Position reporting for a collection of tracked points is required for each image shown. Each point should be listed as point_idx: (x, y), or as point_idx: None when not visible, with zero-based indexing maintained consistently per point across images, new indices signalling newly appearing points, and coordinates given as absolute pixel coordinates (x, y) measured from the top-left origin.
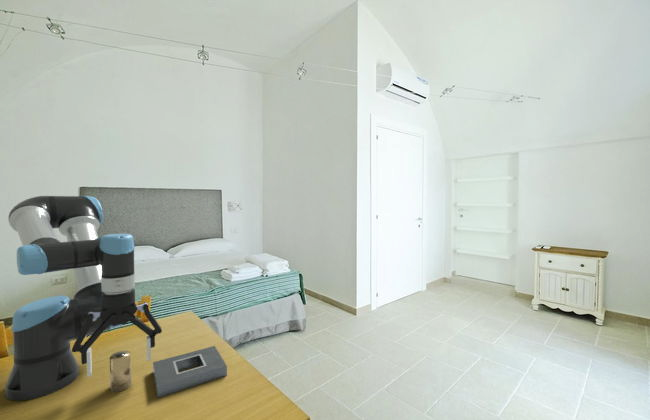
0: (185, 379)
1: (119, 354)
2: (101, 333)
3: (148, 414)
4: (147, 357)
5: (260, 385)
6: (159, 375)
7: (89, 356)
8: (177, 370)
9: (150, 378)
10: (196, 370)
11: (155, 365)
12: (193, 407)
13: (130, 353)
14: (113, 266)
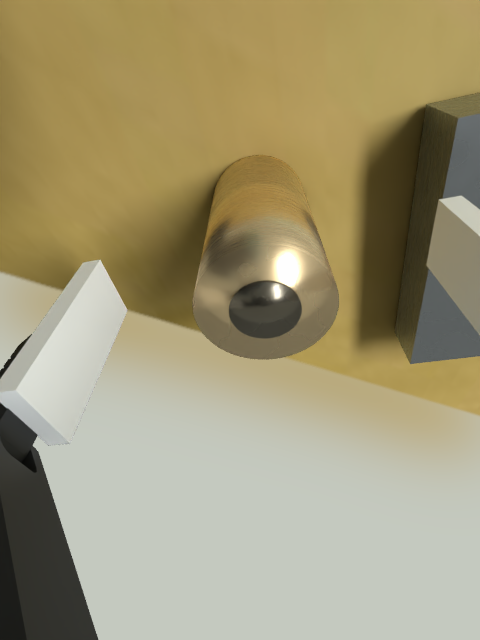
0: None
1: (258, 307)
2: (93, 625)
3: (356, 378)
4: (437, 251)
5: None
6: (441, 296)
7: (79, 409)
8: None
9: (396, 172)
10: None
11: (457, 181)
12: (472, 391)
13: (337, 308)
14: None
